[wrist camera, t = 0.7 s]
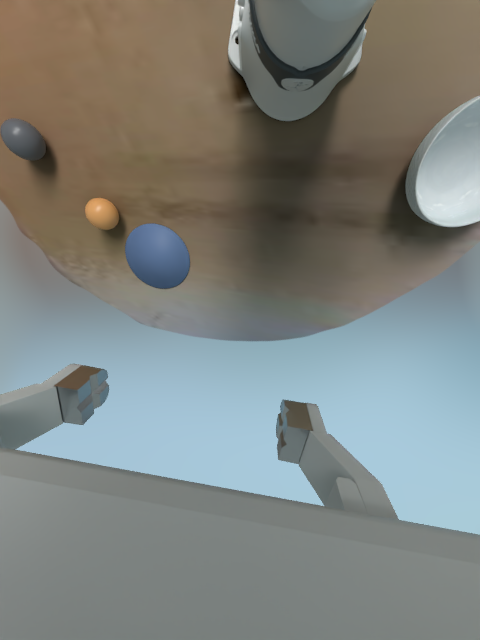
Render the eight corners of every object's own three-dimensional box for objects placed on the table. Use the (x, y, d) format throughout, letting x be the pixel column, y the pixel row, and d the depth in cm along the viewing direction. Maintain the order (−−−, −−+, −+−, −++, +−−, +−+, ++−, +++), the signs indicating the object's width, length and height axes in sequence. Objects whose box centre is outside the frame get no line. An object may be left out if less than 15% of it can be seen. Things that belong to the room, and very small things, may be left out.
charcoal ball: (15, 121, 39) (-18, 113, 34) (47, 123, 39) (18, 115, 34) (29, 160, 42) (0, 157, 37) (58, 162, 42) (33, 159, 37)
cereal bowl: (398, 237, 45) (420, 245, 38) (384, 140, 37) (409, 132, 31) (503, 194, 40) (547, 196, 34) (511, 74, 33) (570, 49, 27)
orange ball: (93, 196, 44) (73, 197, 40) (121, 198, 44) (105, 199, 39) (100, 226, 47) (83, 231, 42) (126, 228, 47) (112, 233, 42)
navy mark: (119, 221, 46) (119, 221, 46) (187, 226, 46) (187, 226, 46) (132, 285, 53) (131, 286, 53) (191, 290, 53) (191, 290, 53)
